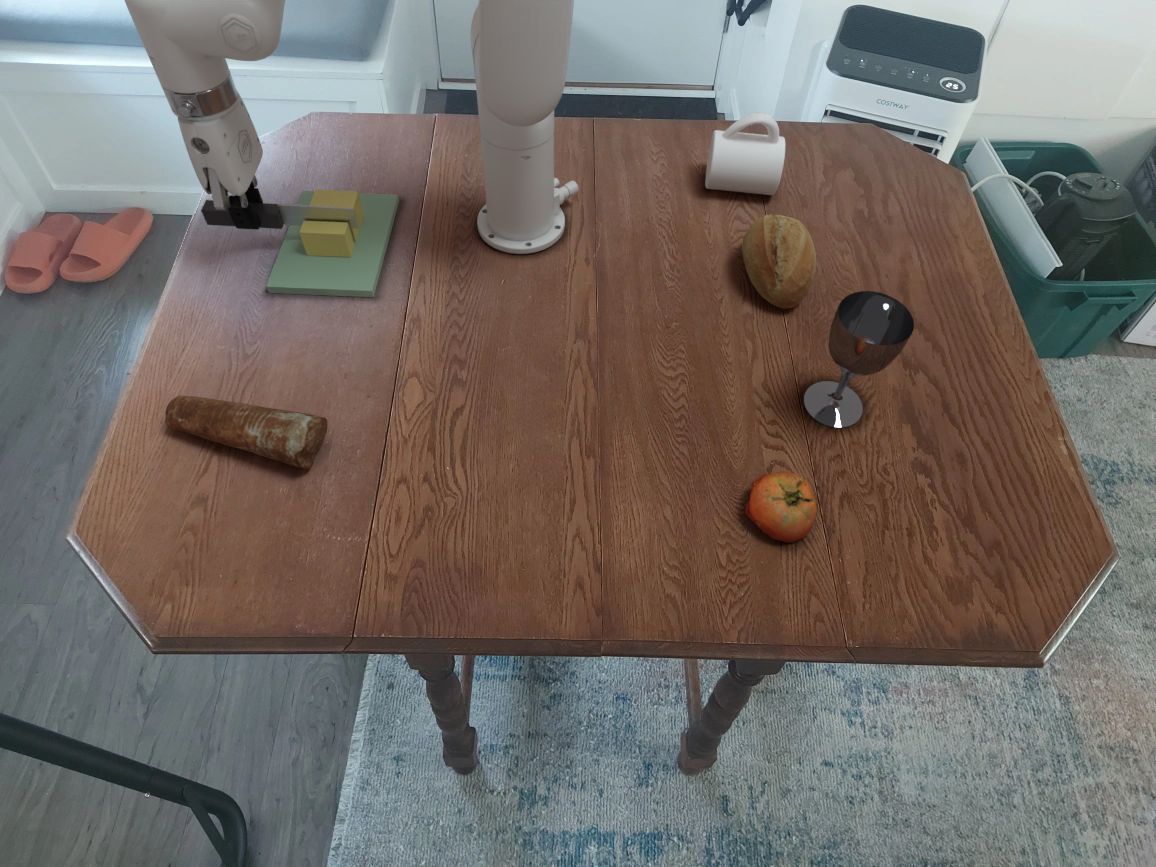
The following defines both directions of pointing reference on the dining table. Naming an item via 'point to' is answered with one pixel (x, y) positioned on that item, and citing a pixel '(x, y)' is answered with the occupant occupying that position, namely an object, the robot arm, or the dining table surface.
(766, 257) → the bread roll
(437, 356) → the dining table surface
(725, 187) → the mug
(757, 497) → the tomato
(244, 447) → the bread
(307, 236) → the butter pat
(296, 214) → the knife
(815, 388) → the wine glass
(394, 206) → the butter board
